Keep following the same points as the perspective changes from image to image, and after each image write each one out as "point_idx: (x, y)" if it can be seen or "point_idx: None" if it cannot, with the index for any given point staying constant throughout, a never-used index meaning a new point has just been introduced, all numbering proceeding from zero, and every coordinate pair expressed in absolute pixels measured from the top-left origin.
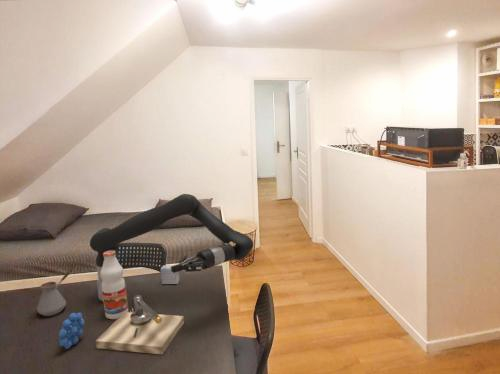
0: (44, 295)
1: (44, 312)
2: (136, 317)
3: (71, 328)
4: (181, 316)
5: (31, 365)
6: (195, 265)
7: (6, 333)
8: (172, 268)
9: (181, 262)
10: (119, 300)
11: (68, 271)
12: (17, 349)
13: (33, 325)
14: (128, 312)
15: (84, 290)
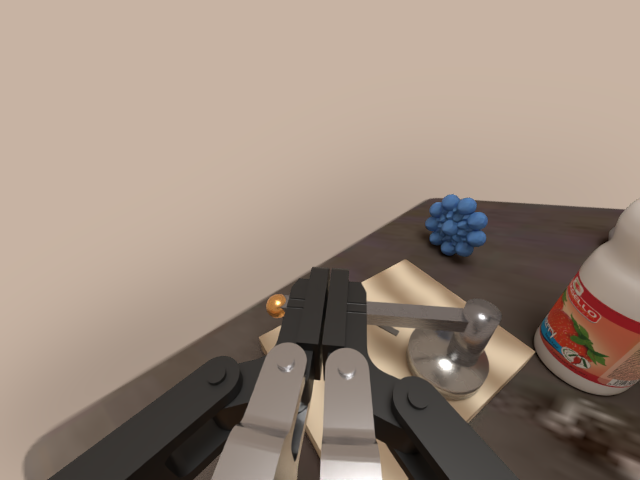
0: None
1: (609, 231)
2: (433, 334)
3: (447, 218)
4: None
5: (417, 212)
6: (66, 466)
7: (550, 206)
8: (319, 269)
9: (348, 371)
10: (568, 318)
11: None
12: (480, 208)
13: (570, 229)
14: (526, 357)
15: None
